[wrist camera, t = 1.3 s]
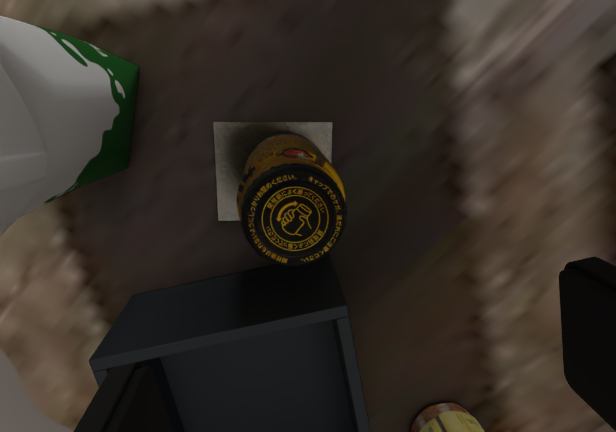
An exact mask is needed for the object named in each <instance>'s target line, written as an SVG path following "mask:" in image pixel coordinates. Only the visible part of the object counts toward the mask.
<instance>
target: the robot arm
mask: <svg viewBox="0 0 616 432" xmlns="http://www.w3.org/2000/svg"><path fill="white" fill-rule="evenodd" d="M559 289H560V307H561V325H562V343H563V362H564V374H565V377H566V380H567V382H568V384H569V385H570V387H571V388H572V389H573V390H574V391H575V392H576V393H577V394H578V395H579V396H580V397H581V398H582V399H583V400H584V401H585V402H586V403H587V404H588V405H589V406H590V407H591V408H592V409H593V410H594V411H595V412H596V413H597V414H599V415H600V416H601V417H602V418H603V419H604V420H605V421H606V422H607V423H608V424H609V425H610V426H611V427H612V428H613V429H614V430H615V431H616V266H614V265H612V264H610V263H608V262H606V261H604V260H602V259H600V258H597V257H591V258H586V259H582V260H577V261H573V262H569V263H567V264H566V266H565V268H564V270H563V271H561V272H560V274H559ZM74 432H174V430H173V427H172V424H171V421H170V418H169V416H168V413H167V410H166V407H165V404H164V401H163V399H162V396H161V393H160V390H159V387H158V384H157V382H156V379H155V376H154V373H153V371H152V369H151V368H150V367H149V366H147V367H143V365H142V364H141V363H140V362H135V363H130V364H126V365H122V366H117V367H113V368H111V369H110V371H109V372H108V374H107V376H106V377H105V379H104V381H103V382H102V384H101V386H100V388H99V389H98V391H97V393H96V394H95V396H94V398H93V400H92V401H91V403H90V405H89V406H88V408H87V410H86V411H85V413H84V415H83V417H82V418H81V420H80V422H79V423H78V425H77V427H76V429H75V430H74Z"/></svg>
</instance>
